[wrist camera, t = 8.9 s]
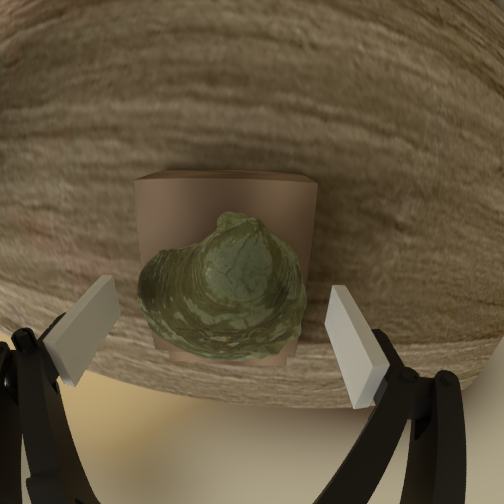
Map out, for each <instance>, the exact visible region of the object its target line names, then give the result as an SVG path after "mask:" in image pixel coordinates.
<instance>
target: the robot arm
mask: <svg viewBox="0 0 504 504" xmlns="http://www.w3.org/2000/svg"><path fill="white" fill-rule="evenodd" d="M120 315H121V311H120V307H119V302H118V298H117V293H116V288H115V283H114V277H113V275H102V276H101V277H100V278H99V279H98V280H97V281H96V282H95V283H94V284H93V285H92V286H91V287H90V288H89V289H88V290H87V291H86V292H85V294H84V295H83V296H82V297H81V298H80V299H79V300H78V301H77V302H76V303H75V304H74V305H73V306H72V307H71V309H70V310H69V311H68V312H67V313H63V314H62V315H60V316H58V317H57V318H56V319H55V320H54V322H53V324H51V325H50V326H49V328H47V329H46V331H45V332H44V333H43V334H42V335H41V336H40V337H39V339H38V340H36V338H35V335H34V333H33V330H32V329H30V328H27V327H26V328H21V329H18V330H17V331H15V332H14V333H13V335H12V337H11V340H12V342H13V344H14V346H15V348H16V350H10V348H9V347H8V344H7V343H6V342H3V341H1V342H0V504H22V490H21V445H22V434H23V439H24V446H25V451H26V456H27V461H28V465H29V469H30V474H31V476H30V478H27V479H26V487H27V490H28V494H29V497H30V500H31V503H32V504H100V502H99V501H98V500H97V498H96V497H95V495H94V493H93V491H92V488H91V486H90V484H89V482H88V479H87V477H86V474H85V472H84V469H83V467H82V464H81V462H80V459H79V456H78V453H77V451H76V448H75V445H74V442H73V439H72V435H71V432H70V429H69V426H68V422H67V419H66V415H65V411H64V407H63V403H62V398H61V394H60V389H59V385H58V382H57V381H56V379H57V378H58V376H60V377H61V379H62V381H63V383H64V384H67V385H70V386H73V387H75V386H76V385H77V383H78V381H79V380H80V378H81V376H82V375H83V373H84V371H85V370H86V368H87V366H88V365H89V363H90V361H91V360H92V358H93V357H94V355H95V353H96V352H97V350H98V349H99V347H100V345H101V344H102V342H103V341H104V339H105V338H106V336H107V335H108V333H109V331H110V330H111V328H112V327H113V325H114V324H115V322H116V321H117V319H118V318H119V316H120ZM325 327H326V330H327V332H328V335H329V338H330V341H331V344H332V346H333V349H334V352H335V355H336V358H337V361H338V364H339V367H340V370H341V372H342V375H343V378H344V381H345V384H346V387H347V390H348V393H349V397H350V400H351V403H352V406H353V409H357V408H365V407H369V406H370V404H371V402H372V400H373V399H374V402H375V404H376V406H375V408H374V410H373V412H372V413H371V415H370V417H369V418H368V421H367V423H366V425H365V427H364V428H363V430H362V432H361V434H360V435H359V437H358V439H357V440H356V442H355V444H354V445H353V447H352V449H351V450H350V452H349V453H348V455H347V457H346V458H345V460H344V461H343V463H342V464H341V466H340V467H339V469H338V470H337V472H336V473H335V475H334V476H333V477H332V479H331V480H330V482H329V483H328V484H327V486H326V487H325V488H324V490H323V491H322V493H321V494H320V495H319V496H318V498H317V499H316V500H315V501H314V503H313V504H367V503H368V501H369V499H370V498H371V496H372V494H373V492H374V491H375V489H376V487H377V485H378V483H379V481H380V480H381V478H382V476H383V474H384V472H385V470H386V468H387V466H388V463H389V462H390V460H391V457H392V455H393V453H394V451H395V449H396V446H397V444H398V442H399V439H400V437H401V435H402V432H403V430H404V427H405V425H406V422H407V419H411V433H410V443H409V452H408V460H407V467H406V474H405V479H404V486H403V490H402V495H401V500H400V504H465V492H466V435H465V421H464V412H463V403H462V396H461V389H460V383H459V379H458V377H457V376H456V375H455V374H454V373H452V372H451V371H447V370H441V371H439V372H437V374H436V375H435V377H434V378H426V377H420V376H419V374H418V373H417V372H416V371H415V370H414V369H412V368H409V367H405V366H404V364H403V362H402V361H401V359H400V357H399V355H398V354H397V352H396V350H395V349H394V348H393V345H392V344H391V343H390V340H389V339H388V337H387V335H386V334H385V333H383V332H382V331H381V330H380V329H370V327H369V325H368V324H367V322H366V320H365V318H364V317H363V315H362V313H361V311H360V310H359V308H358V306H357V305H356V303H355V301H354V299H353V298H352V296H351V294H350V293H349V291H348V289H347V288H346V286H345V285H332V290H331V295H330V300H329V305H328V310H327V315H326V320H325ZM5 382H6V386H5V384H4V383H5Z"/></svg>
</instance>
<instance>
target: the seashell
mask: <svg viewBox="0 0 504 504" xmlns="http://www.w3.org/2000/svg"><path fill="white" fill-rule="evenodd" d="M217 227H218V228H217V229H216V231H215V232H214V233H212V234H211V235H210V236H208V237H207V238H205V239H204V240H203V241H202V242H201V243H197V244H192V245H190V246H186V247H182V248H177V249H162V250H160V251H159V252H158V253H157V254H156V255H155V256H154V257H153V258H152V259H151V260H149V261H148V262H147V263H146V264H145V266H144V267H143V268H142V271H141V273H140V275H139V279H138V287H137V296H138V303H139V305H140V308H141V310H142V313H143V315H144V316H145V318H146V320H147V322H148V325H149V327H150V329H152V331H153V332H154V333H155V334H156V335H158V336H159V337H161V338H162V339H164V340H165V341H167V342H169V343H170V344H172V345H174V346H175V347H177V348H180V349H182V350H184V351H186V352H188V353H191V354H193V355H195V356H197V357H199V358H202V359H212V360H220V361H246V360H249V359H254V358H255V359H263V358H265V357H267V356H270V355H277V354H279V352H280V350H281V349H282V348H283V347H284V346H285V345H286V343H287V342H288V341H290V340H293V339H295V338H297V337H299V335H300V334H301V331H302V326H301V319H302V317H303V315H304V312H305V309H306V307H307V295H306V291H305V287H304V284H303V276H302V272H301V268H300V264H299V260H298V257H297V255H296V253H295V251H294V250H293V249H292V247H291V246H290V245H289V244H288V243H286V242H285V241H284V240H282V239H281V238H279V237H277V236H275V235H273V234H271V233H269V232H268V230H267V229H266V227H265V225H264V224H263V223H262V221H261V220H260V219H258V218H255V217H247V216H246V215H245V214H242V213H233V212H225V213H223V214H222V215H221V216H219V218H218V219H217Z"/></svg>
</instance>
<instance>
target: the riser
mask: <svg viewBox="0 0 504 504" xmlns="http://www.w3.org/2000/svg"><path fill="white" fill-rule="evenodd" d="M317 192H318V183H317V182H315V181H313V180H312V179H310V178H308V177H306V176H305V175H303V174H301V173H289V172H273V171H251V170H162V171H159V172H156V173H153V174H150V175H147V176H144V177H141V178H138V179H135V180H134V193H135V210H136V223H137V234H138V244H139V253H140V262H141V270H142V268H143V267H144V266H145V264H146V263H147V262H148V261H149V260H151V259H152V258H153V257H154V256H155V255H156V254H157V253H158V252H159V251H160V250H162V249H177V248H182V247H186V246H190V245H192V244H197V243H201V242H202V241H203V240H204V239H205V238H207V237H208V236H210V235H211V234H212V233H214V232H215V231H216V229H217V228H218V227H217V219H218V218H219V216H221V215H222V214H223V213H225V212H233V213H242V214H245V215H246V216H247V217H255V218H258V219H260V220H261V221H262V223H263V224H264V225H265V227H266V229H267V230H268V232H269V233H271V234H273V235H275V236H277V237H279V238H281V239H282V240H284V241H285V242H286V243H288V244H289V245H290V246H291V247H292V249H293V250H294V251H295V253H296V255H297V257H298V260H299V264H300V268H301V272H302V276H303V284H304V287H305V291H306V287H307V280H308V273H309V265H310V257H311V249H312V241H313V232H314V223H315V213H316V203H317ZM301 320H302V319H301ZM151 330H152V329H151ZM152 335H153V340H154V345H155V349H158V350H167V351H169V355H170V360H178V361H188V362H200V363H213V364H230V365H261V366H286V361H287V357H295V355H296V349H297V344H298V338H299V337H297V338H295V339H293V340H290V341H288V342H287V343H286V345H285V346H284V347H283V348H282V349H281V350H280V352H279V354H277V355H270V356H267V357H265V358H263V359H255V358H254V359H249V360H246V361H220V360H212V359H202V358H199V357H197V356H195V355H193V354H191V353H188V352H186V351H184V350H182V349H180V348H177V347H175V346H174V345H172V344H170V343H169V342H167V341H165V340H164V339H162V338H161V337H159V336H158V335H156V334H155V333H154V332H153V331H152Z"/></svg>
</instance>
